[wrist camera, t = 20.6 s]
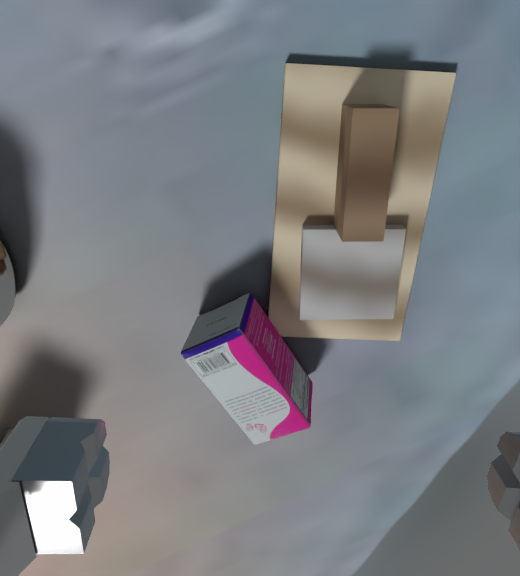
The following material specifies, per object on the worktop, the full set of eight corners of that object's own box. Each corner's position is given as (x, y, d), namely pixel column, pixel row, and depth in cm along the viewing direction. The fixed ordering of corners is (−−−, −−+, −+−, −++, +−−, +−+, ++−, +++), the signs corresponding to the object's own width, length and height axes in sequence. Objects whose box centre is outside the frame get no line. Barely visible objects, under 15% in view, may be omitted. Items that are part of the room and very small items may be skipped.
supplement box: (197, 313, 41) (262, 402, 46) (178, 354, 36) (252, 449, 40) (252, 288, 39) (314, 384, 43) (240, 328, 34) (311, 431, 38)
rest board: (285, 63, 33) (285, 63, 32) (451, 72, 33) (456, 72, 32) (267, 331, 42) (267, 336, 41) (397, 336, 42) (399, 340, 42)
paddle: (307, 104, 33) (314, 108, 29) (418, 104, 33) (438, 108, 30) (298, 313, 40) (303, 337, 37) (389, 312, 40) (402, 336, 37)
